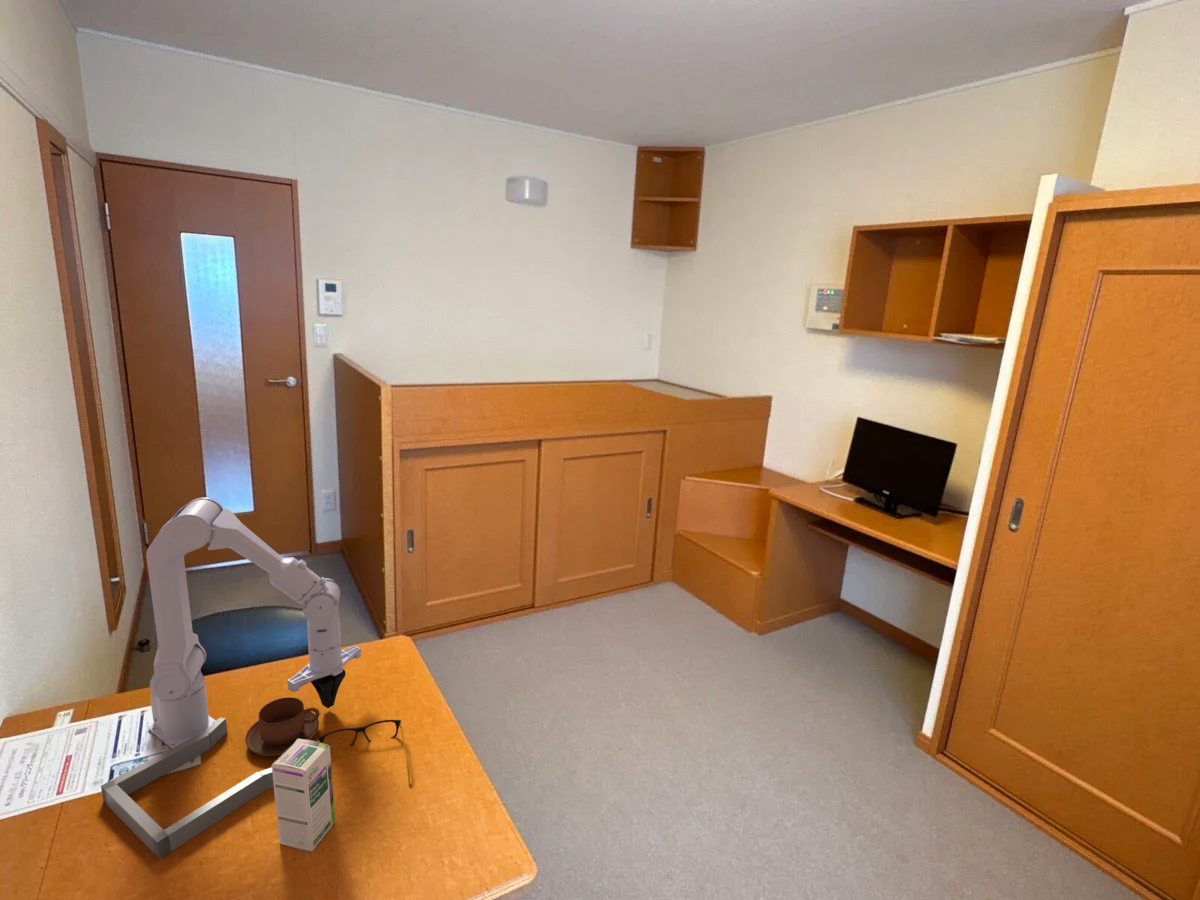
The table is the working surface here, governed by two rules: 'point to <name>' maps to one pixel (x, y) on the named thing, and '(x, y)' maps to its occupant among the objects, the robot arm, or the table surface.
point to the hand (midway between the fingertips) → (328, 704)
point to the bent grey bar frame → (195, 821)
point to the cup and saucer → (281, 726)
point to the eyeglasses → (362, 729)
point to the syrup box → (304, 794)
